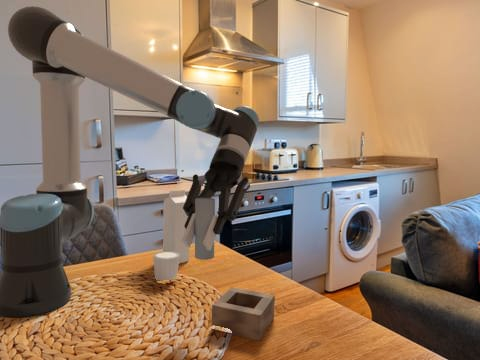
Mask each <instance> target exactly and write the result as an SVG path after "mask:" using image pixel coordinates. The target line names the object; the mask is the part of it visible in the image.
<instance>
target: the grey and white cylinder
mask: <svg viewBox="0 0 480 360" xmlns="http://www.w3.org/2000/svg"><path fill="white" fill-rule="evenodd" d="M179 256H180V255H179V253H176V252H172V251H164V252H163V251H159V252H156V253H154V254H153V256H152V257H153V269H154V270H153V271H154V280H155V279H157V280H160V281H163V280H171V279H173V278H175V277H177V278H178V271H179Z"/></svg>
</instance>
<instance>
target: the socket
mask: <svg viewBox="0 0 480 360" xmlns="http://www.w3.org/2000/svg"><path fill="white" fill-rule="evenodd" d="M275 296H276V295H274V294H268V293H264V292H259V291H254V290H248V289H243V288H238V287H230V288H229V289H228V290H226V291H225V293H223V294H222V295H221V296H220V297H219V298H218V299H217V300H216V301H215V302H214V303H213V304H212V305H211V326H212V325H215V326H220V327H224V328H228V329H230V330H231V331H232V334H231V335H233V336H237V337H242V338H245V339H246V338H247V339H250V340H255V341H257V342H259V341H261V339H262V337H263V336H264V334H265V333H266V331H267V330H268V328H269V326H270V325H271V323H272V322H273V320H274V319H275V318H274V317H275V299H276V297H275Z"/></svg>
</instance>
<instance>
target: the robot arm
mask: <svg viewBox="0 0 480 360" xmlns="http://www.w3.org/2000/svg"><path fill="white" fill-rule="evenodd" d="M7 34H8V38H9V41H10V43H11V44H12V47H13V48H14V50H15V51H16V52H17V53H19V54H20V55H21V56H22V57H24V58H26V59H27V60H29V61H31V65H32V67H31V68H32V77H33V78H34V79H35V80H36V81H37V82H38V83H39V87H40V89H39V90H40V93H39V94H40V119H41V121H40V122H41V123H40V124H41V154H42V155H41V156H42V159H41V160H42V182H41V183H40V184H39V185H38V186H37V187H36V188H35V190H36V191H35V192H36V193H30V194H27V195H18V196H15V197H12V198H9V199H7V200H6V201H5V202H4V203H3V204H1V207H0V260H1V264H0V265H1V266H0V267H1V270H0V271H1V272H0V316H2V317H7V318H21V317H22V318H24V317H33V316H38V315H41V314H45V313H48V312H51V311H55V310H56V309H59V308H61V307H62V306H65V304H67V303H68V302H69V301H70V300H71V298H72V286H71V283H70V282H69V278H68V276H67V273H66V270H65V268H64V265H63V244H64V243H65V242H67V241H69V240H71V239H73V238H76V237H78V236H79V235H81V234H82V233H83V232H85V231H86V230H87V229H89V227H90V225H91V223H92V222H93V220H94V215H95V209H94V204H93V202H92V200H91V199H90V198H89V197H88V187H87V186H86V184H85V183H83V182H82V179H81V141H80V139H81V136H80V135H81V134H80V130H81V129H80V94H79V93H80V92H79V91H80V89H79V88H80V86H81V85H82V84H83V83H84V82H85V81H86V78H87V79H88V80H91V81H94V82H95V83H97V84H100V85H102V86H104V87H106V88H107V89H110V90H112V91H114V92H117V93H119V94H120V95H123V96H125V97H126V98H129V99H131V100H133V101H135V102H137V103H139V104H142V105H144V106H146V107H147V108H150V109H152V110H154V111H156V112H158V113H160V114H162V115H165V116H166V117H169V118H170V119H172V120H175V121H177V122H179V124H181V125H184V126H185V127H187V128H190V129H192V130H196V131H199V132H202V133H205V134H208V135H210V136H213V137H215V138H218V139H220V140H219V143H218V144H217V147H216V149H215V152H214V154H213V157H212V158H211V160H210V164H209V168H208V170H207V171H206V172H205V174H204V175H198V174H193V176H192V184H191V186H190V189H189V192H188V193H187V195H186V196H187V198H186V201H185V203H184V206H183V210H184V211H185V213H186V215H187V216H188V218H187V220H186V223H185V228H186V231H185V233H184V236H183V238H182V242H183V243H184V244H185V246H186V247H188V248H191V246H192V243H193V240H194V239H195V199H197V198H212V197H214V196H215V195H216V193H218V192H220V194H219V202H218V209H217V211H216V214H215V215H213V218H212V220H211V223H210V226H209V228H208V231H207V233H206V236H205V239H204V241H203V244H204V246H205V247H206V249H207V250H210V251H211V248H212V245H213V243H214V244H215V239H216V237H217V235H221V234H222V231H223V229H224V225H225V224H226V222H227V221H231V222H232V221H235V220H236V218H237V215H238V213H239V210H240V208H241V205H242V202H243V200H244V197H245V194H246V193H247V191H248V190H249V188H251V183H250V181H249V178H248V177H247V176H246V177H243V178H242V177H241V176H242V173H243V171H244V167H245V164H246V162H247V159H248V156H249V154H250V149H251V147H252V144H253V143H254V140H255V136H256V135H257V134H256V133H257V132H258V126H259V122H260V119H259V114H258V113H257V112H256V111H255V110H254V109H253V108H252V107H249V106H246V105H245V106H241V105H240V106H239V105H238V106H236V107H235V108H233V110H232V109H228V108H225V107H222V106H220V105H218V104H215V103H214V100H213V99H212V98H211V97H210V95H209V94H207V93H205V92H203V91H201V90H197V89H196V90H195V89H194V88H191V87H189V86H187V85H184V84H183V83H181V82H179V81H177V80H175V79H173V78H171V77H169V76H167V75H164V74H162V73H161V72H158V71H156V70H154V69H153V68H150V67H148V66H146V65H144V64H142V63H140V62H138V61H137V60H134V59H132V58H130V57H127V56H125V55H123V54H122V53H120V52H117V51H116V50H113V49H111V48H109V47H107V46H104V45H103V44H101V43H99V42H97V41H94V40H92V39H90V38H88V37H87V36H84V35H83V34H82V33H81V32H80V31H79V30H78V29H77V28H76V27H74V25H72V24H71V23H69V22H67V21H66V20H63V19H61V17H59V16H57V15H56V14H55V13H53V12H51V11H50V10H49V9H46V8H43V7H40V6H25V7H23V8H20V9H19V10H16V11H15V12H14V13H13V14H12V15H11V17H10V19H9V22H8V26H7ZM236 185H237V186H236ZM235 186H236V188H235V189H234V187H235ZM202 187H203V189H202ZM232 189H234V190H235V191H234V193H233V194H232V195H233V196H232V198H231V200H230V197H231V193H232V192H231V191H232ZM201 190H202V191H201ZM229 201H230V203H229Z"/></svg>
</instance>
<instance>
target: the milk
mask: <svg viewBox="0 0 480 360" xmlns="http://www.w3.org/2000/svg"><path fill="white" fill-rule="evenodd" d="M168 195H169V196H168V197H166V198H165V199H164V200H163V214H162V215H163V217H162V219H163V221H162V222H163V224H162V252H164V251H172V252H176V253H179V255H180V256H179V264H183V263H186V262H190V255H191V252H190V251H191V250H190V248H191V247H190V248H188V247H186V246H185V244H184V243H183V242H182V238H183V236H184V233H185V231H186V228H185V223H186V220H187V218H188V216H187V215H186V213H185V211H184V210H183V206H184V203H185V201H186V198H187V196H188V195H186V190H185V189H181V190H180V189H179V190H171V191H169V193H168Z"/></svg>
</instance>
